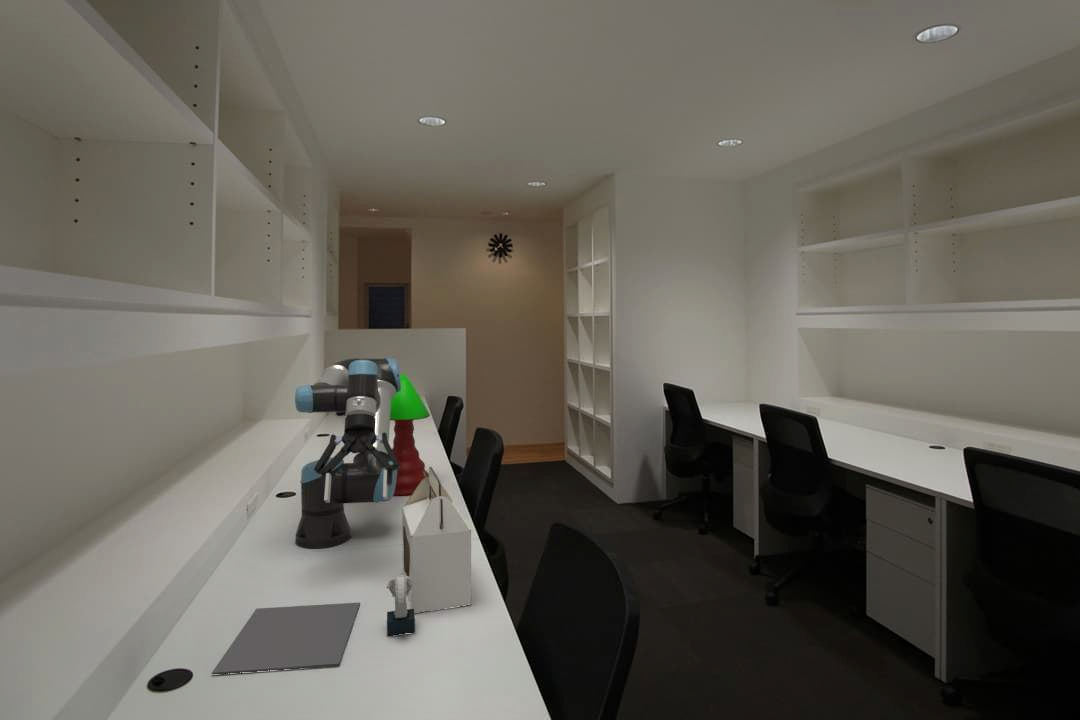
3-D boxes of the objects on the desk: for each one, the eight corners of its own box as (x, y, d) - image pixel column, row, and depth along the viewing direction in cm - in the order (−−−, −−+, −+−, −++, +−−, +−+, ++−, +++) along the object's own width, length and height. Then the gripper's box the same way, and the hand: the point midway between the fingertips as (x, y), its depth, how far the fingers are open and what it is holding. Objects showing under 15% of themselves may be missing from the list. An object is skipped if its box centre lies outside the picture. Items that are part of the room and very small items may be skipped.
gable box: (402, 573, 148) (401, 465, 147) (454, 567, 153) (454, 461, 151) (411, 615, 127) (410, 488, 126) (471, 606, 131) (471, 484, 130)
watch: (413, 618, 126) (413, 568, 125) (415, 638, 118) (415, 584, 117) (386, 621, 124) (386, 571, 124) (386, 641, 117) (386, 587, 116)
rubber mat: (256, 611, 128) (256, 608, 128) (360, 605, 132) (360, 602, 132) (211, 676, 105) (211, 672, 105) (339, 666, 108) (339, 663, 108)
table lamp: (373, 485, 230) (372, 370, 227) (423, 479, 238) (423, 369, 235) (382, 498, 212) (381, 375, 209) (436, 492, 220) (436, 373, 217)
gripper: (306, 413, 146) (298, 498, 136) (408, 409, 149) (407, 492, 140) (313, 424, 152) (305, 506, 143) (411, 420, 156) (410, 500, 146)
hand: (356, 499), depth 141 cm, fingers open, 13 cm apart
